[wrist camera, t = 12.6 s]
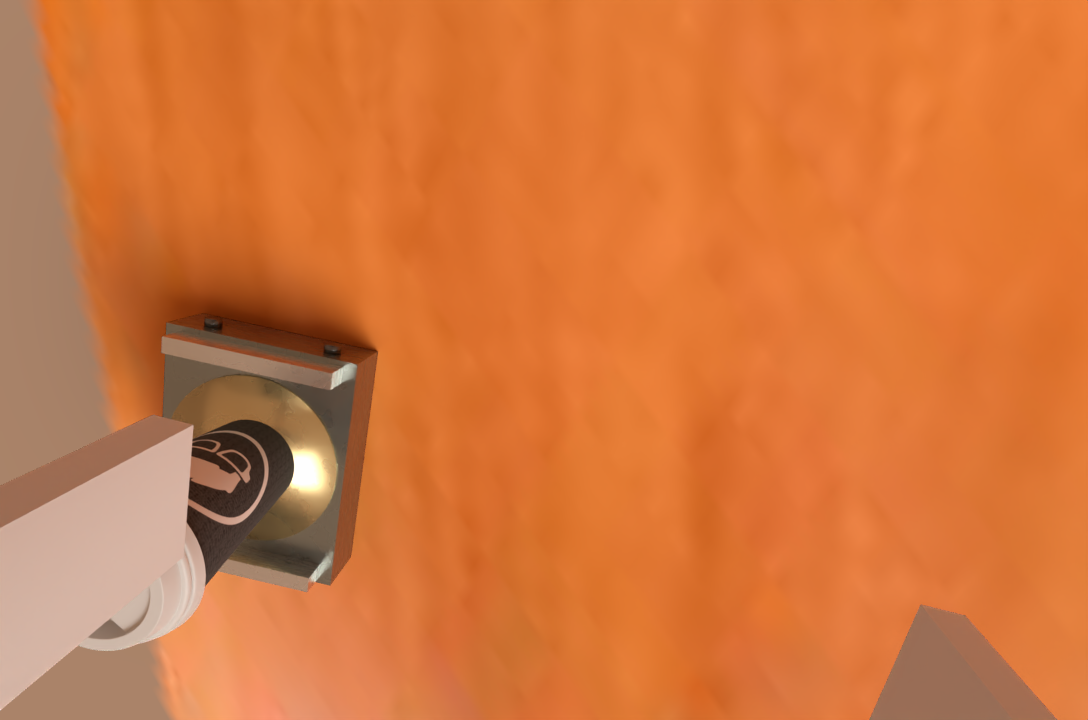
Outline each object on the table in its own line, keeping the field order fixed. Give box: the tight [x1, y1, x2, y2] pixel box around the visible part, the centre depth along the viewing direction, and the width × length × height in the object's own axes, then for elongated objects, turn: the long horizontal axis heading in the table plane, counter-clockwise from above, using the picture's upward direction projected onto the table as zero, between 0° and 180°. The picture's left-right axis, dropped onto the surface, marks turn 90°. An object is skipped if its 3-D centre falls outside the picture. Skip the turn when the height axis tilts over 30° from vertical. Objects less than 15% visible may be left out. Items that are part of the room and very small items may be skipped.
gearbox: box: [161, 313, 378, 592], centre depth 46 cm, size 19×14×6 cm
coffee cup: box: [78, 420, 294, 651], centre depth 38 cm, size 10×10×15 cm
